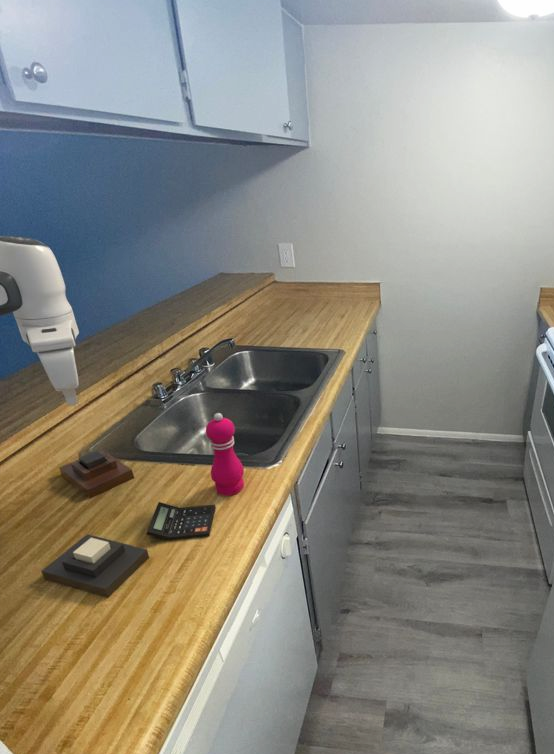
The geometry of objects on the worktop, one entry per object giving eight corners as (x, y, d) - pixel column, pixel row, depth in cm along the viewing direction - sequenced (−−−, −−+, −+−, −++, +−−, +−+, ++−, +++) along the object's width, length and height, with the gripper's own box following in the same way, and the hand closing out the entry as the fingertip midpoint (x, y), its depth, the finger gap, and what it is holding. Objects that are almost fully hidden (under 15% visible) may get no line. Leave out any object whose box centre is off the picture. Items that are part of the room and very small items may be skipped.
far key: (80, 463, 111) (78, 457, 110) (98, 456, 114) (96, 450, 113) (88, 469, 109) (86, 463, 108) (106, 462, 112) (104, 456, 111)
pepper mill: (223, 477, 115) (210, 404, 106) (251, 480, 114) (240, 407, 105) (208, 495, 109) (193, 419, 99) (237, 499, 108) (225, 423, 99)
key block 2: (44, 579, 86) (37, 563, 84) (90, 542, 94) (84, 526, 93) (108, 597, 83) (102, 581, 81) (149, 557, 91) (145, 542, 90)
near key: (75, 559, 86) (72, 552, 85) (93, 544, 89) (91, 537, 88) (93, 564, 85) (90, 557, 84) (111, 549, 88) (108, 542, 87)
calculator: (209, 536, 97) (206, 525, 96) (148, 543, 95) (144, 531, 93) (215, 507, 105) (213, 496, 104) (159, 512, 103) (156, 502, 102)
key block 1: (61, 476, 113) (56, 460, 111) (105, 458, 120) (100, 443, 118) (90, 498, 106) (84, 482, 104) (134, 478, 114) (130, 462, 111)
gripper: (26, 316, 94) (48, 379, 100) (30, 346, 80) (55, 418, 86) (64, 311, 97) (83, 373, 104) (74, 340, 83) (95, 409, 89)
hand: (70, 394), depth 95 cm, fingers open, 8 cm apart
